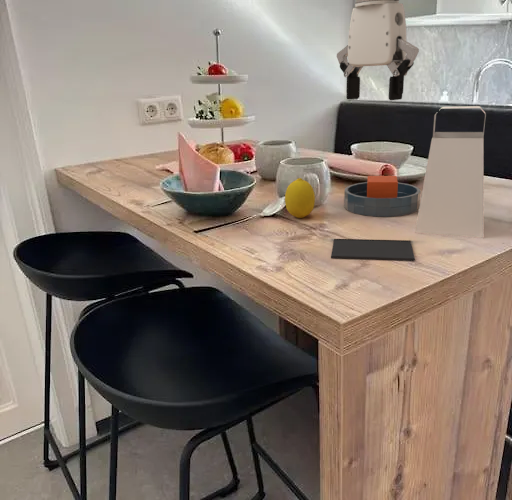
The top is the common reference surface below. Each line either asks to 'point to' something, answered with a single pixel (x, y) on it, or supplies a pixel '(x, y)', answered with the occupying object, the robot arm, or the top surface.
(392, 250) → the mat
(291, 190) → the lemon
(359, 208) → the bowl
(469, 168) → the grater
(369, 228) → the top surface
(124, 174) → the top surface
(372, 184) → the cube
